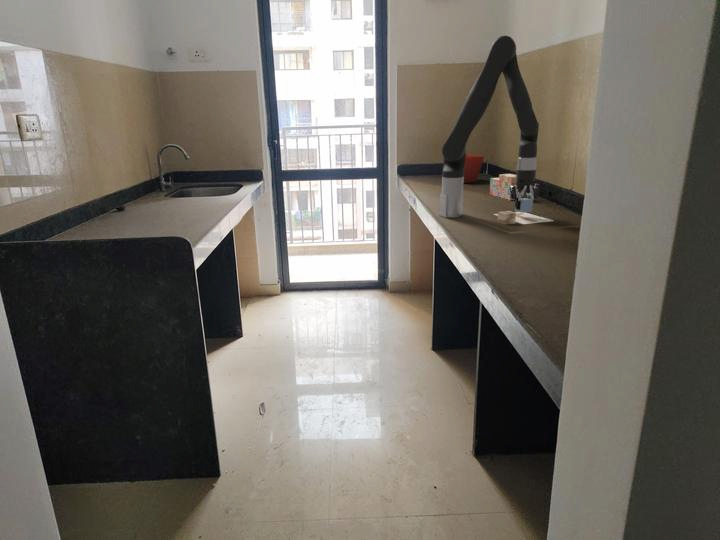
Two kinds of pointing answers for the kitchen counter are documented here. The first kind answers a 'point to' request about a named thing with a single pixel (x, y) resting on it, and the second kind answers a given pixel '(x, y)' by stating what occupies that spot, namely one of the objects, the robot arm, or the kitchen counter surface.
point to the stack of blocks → (502, 185)
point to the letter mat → (528, 218)
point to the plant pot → (472, 167)
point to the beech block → (506, 217)
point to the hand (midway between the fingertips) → (523, 209)
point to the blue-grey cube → (525, 205)
